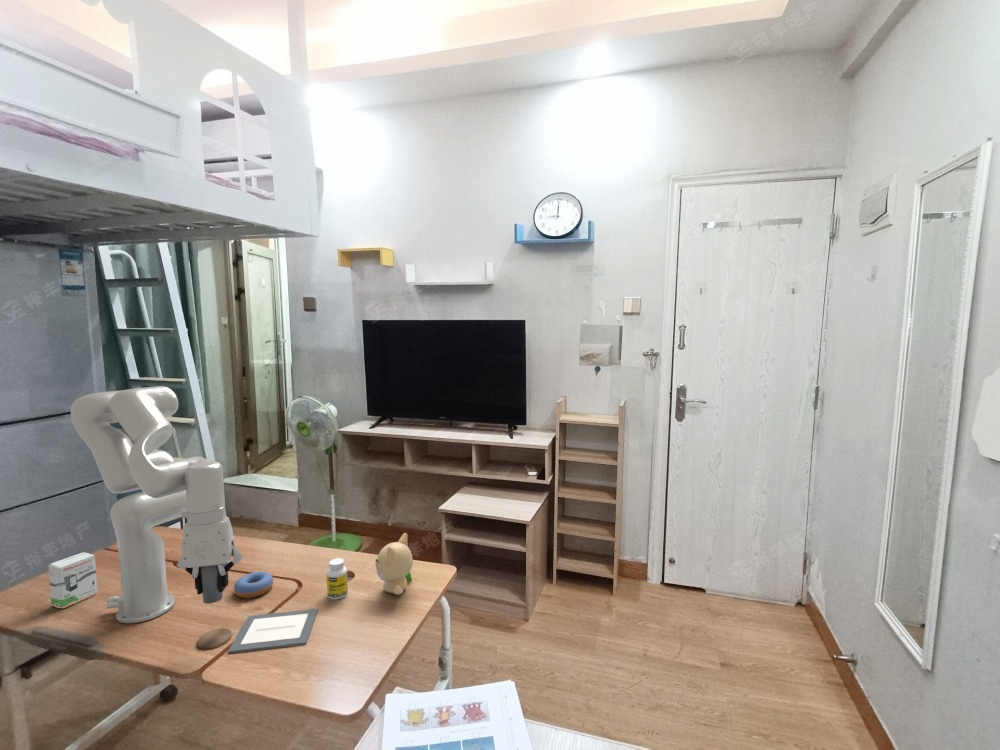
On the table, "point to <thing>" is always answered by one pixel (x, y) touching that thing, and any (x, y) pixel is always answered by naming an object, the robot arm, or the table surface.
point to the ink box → (72, 579)
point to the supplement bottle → (337, 579)
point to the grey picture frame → (274, 631)
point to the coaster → (214, 638)
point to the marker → (210, 584)
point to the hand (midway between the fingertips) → (212, 589)
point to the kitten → (395, 565)
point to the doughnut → (253, 584)
